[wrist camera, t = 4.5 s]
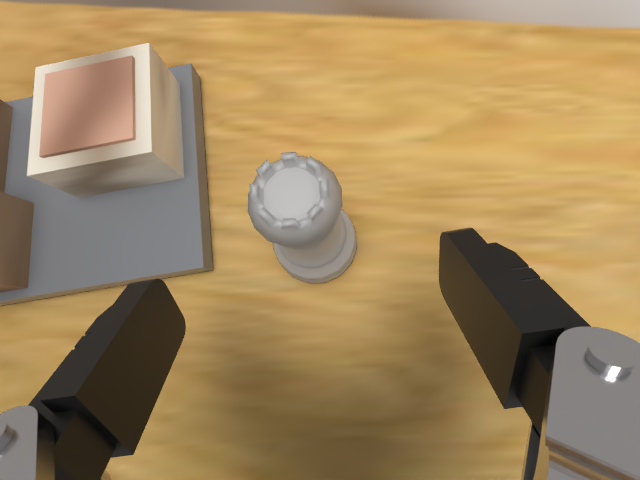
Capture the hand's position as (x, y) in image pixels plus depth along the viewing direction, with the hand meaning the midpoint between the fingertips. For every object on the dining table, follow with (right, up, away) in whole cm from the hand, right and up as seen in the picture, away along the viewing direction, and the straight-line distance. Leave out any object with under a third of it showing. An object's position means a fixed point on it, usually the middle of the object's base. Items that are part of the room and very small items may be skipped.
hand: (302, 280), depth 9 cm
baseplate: (-14, +4, +11) cm, 18 cm away
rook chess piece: (0, +1, +8) cm, 9 cm away
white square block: (-11, +7, +10) cm, 16 cm away
